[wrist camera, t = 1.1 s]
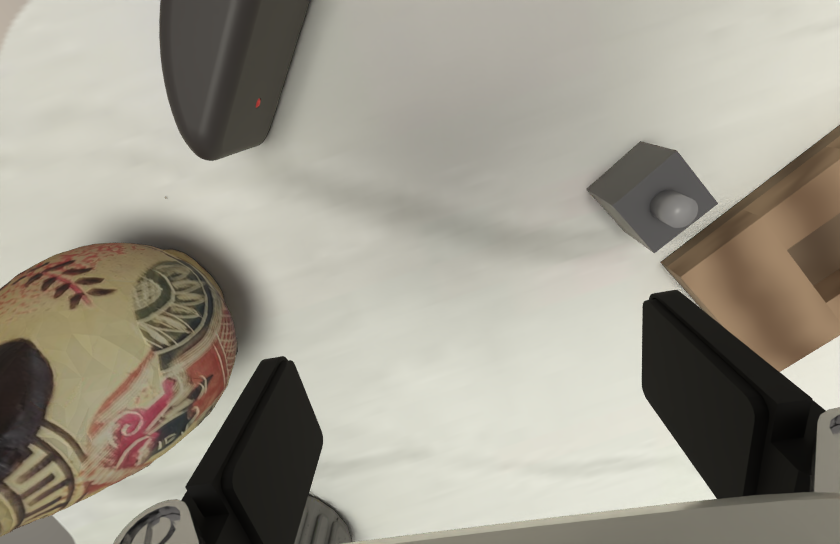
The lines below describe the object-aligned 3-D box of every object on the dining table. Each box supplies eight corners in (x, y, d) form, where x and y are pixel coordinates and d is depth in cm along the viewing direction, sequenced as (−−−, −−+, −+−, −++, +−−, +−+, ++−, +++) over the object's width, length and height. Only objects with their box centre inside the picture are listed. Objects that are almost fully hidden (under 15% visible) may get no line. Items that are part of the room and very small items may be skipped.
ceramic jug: (253, 386, 41) (-92, 982, 14) (91, 344, 39) (-673, 933, 12) (283, 231, 34) (-270, 792, 7) (90, 173, 33) (-1637, 618, 5)
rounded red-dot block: (275, -139, 25) (194, -257, 16) (346, -97, 26) (305, -189, 17) (209, 120, 31) (126, 133, 22) (268, 147, 32) (209, 170, 23)
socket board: (908, 72, 29) (959, 70, 26) (979, 207, 33) (1030, 218, 30) (660, 262, 35) (680, 277, 32) (744, 357, 39) (769, 378, 36)
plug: (640, 141, 31) (695, 155, 25) (677, 187, 33) (738, 211, 26) (586, 189, 33) (625, 214, 26) (623, 230, 34) (669, 264, 28)
